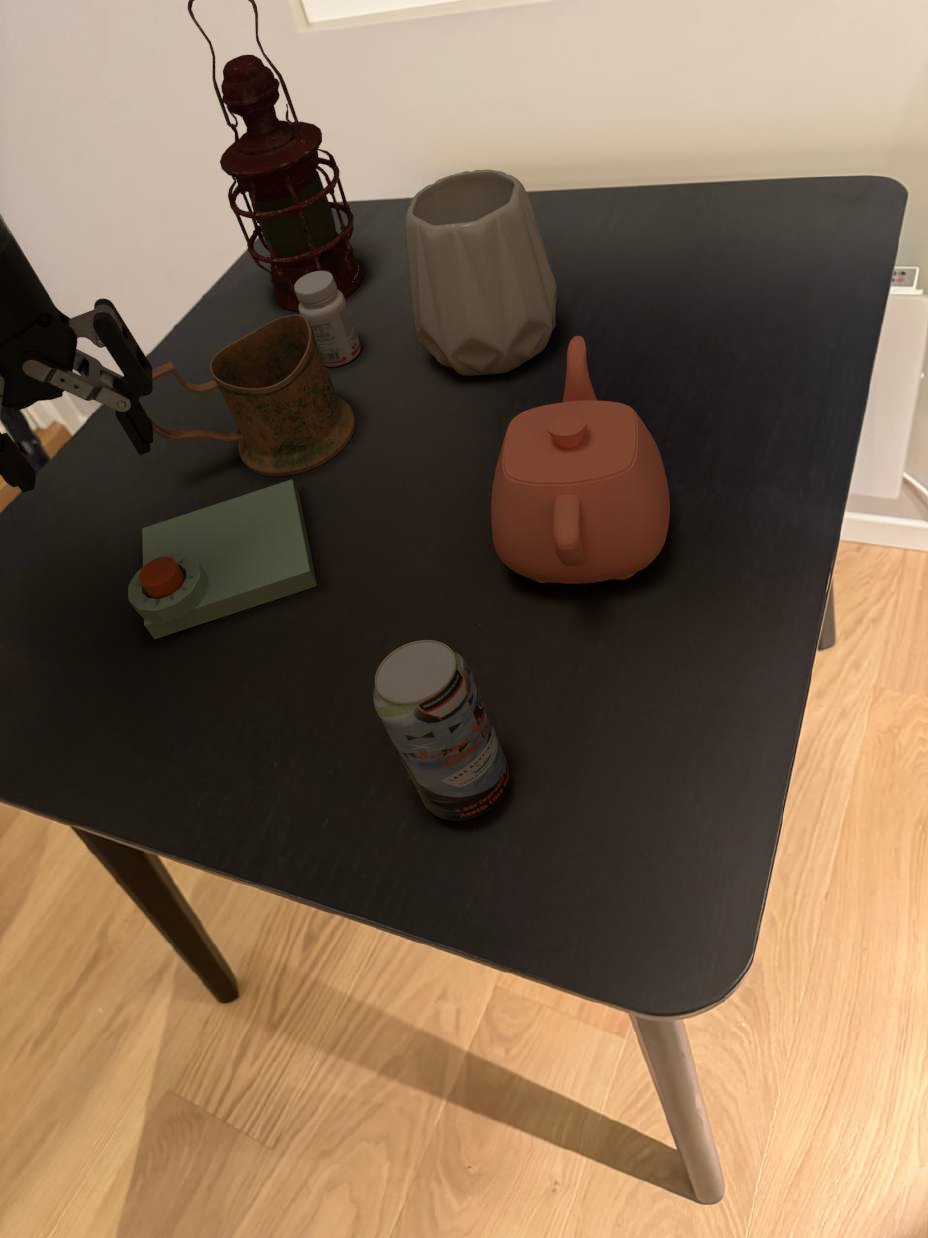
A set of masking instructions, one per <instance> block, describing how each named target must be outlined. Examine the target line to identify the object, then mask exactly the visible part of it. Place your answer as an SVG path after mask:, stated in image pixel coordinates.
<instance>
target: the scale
mask: <svg viewBox="0 0 928 1238" xmlns="http://www.w3.org/2000/svg"><path fill="white" fill-rule="evenodd" d="M141 533H142V535H141V536H142V567H141V568H140V569H138V570H137V571H136V572H135V574H134V576H133V577H132V579H131V580H130V582H129V584H128V587H127V600H128V602H129V603H130V604H131V606H132V608H133V609H134V610H135V612H136V613H137V614H138V615H139V616H141V617H142V619H143V626H144V627H145V628H146V630H147V631H148V632H149V634H150V635H151V637H152V638H153V640H157V639H160V638H162V637H163V638H164V637H166V636H169V635H171V634H175V633H178V632H181V631H184V630H187V629H191V628H193V627H197V626H200V625H203V624H205V623H209V622H212V621H215V620H218V619H221V618H224V617H227V616H231V615H234V614H236V613H239V612H242V611H246V610H248V609H251V608H255V607H256V606H257V607H258V606H261V605H263V604H267V603H270V602H274V601H276V600H279V599H282V598H285V597H288V596H292V595H294V594H297V593H301V592H304V591H306V590H310V589H312V588H315V587H318V582H317V578H316V577H317V576H316V573H315V572H316V571H315V567H314V562H313V557H312V552H311V547H310V542H309V536H308V531H307V527H306V521H305V516H304V510H303V506H302V501H301V496H300V493H299V491H298V488H297V486H296V484H295V482H294V480H293V479H288V480H286V481H283V482H279V483H276V484H274V485H270V486H267V487H264V488H261V489H257V490H255V491H252V492H249V493H246V494H243V495H239V496H237V497H233V498H230V499H228V500H224V501H222V502H217V503H215V504H212V505H209V506H206V507H203V508H200V509H197V510H194V511H191V512H188V513H184V514H181V515H178V516H175V517H173V518H169V519H165V520H163V521H160V522H157V523H154V524H151V525H148V526H144V527H142V529H141ZM159 557H170V558H172V559H174V560H175V561H176V563H177V565H178V566H179V568H180V569H181V571H182V572H183V574H184V583H183V585H182V587H181V588H180V589H178V590H177V591H176V592H174V593H173V594H172V595H170V596H167V597H164V598H161V599H156V598H152V597H151V596H149V595H148V593H147V592H146V590H145V589H144V588H143V586H142V585H141V583H140V582H139V573H140V571H141V569H142V568H143V567H144V566H145V565H146V564H147V563H149V562H150V561H152V560H154V559H156V558H159Z"/></svg>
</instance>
